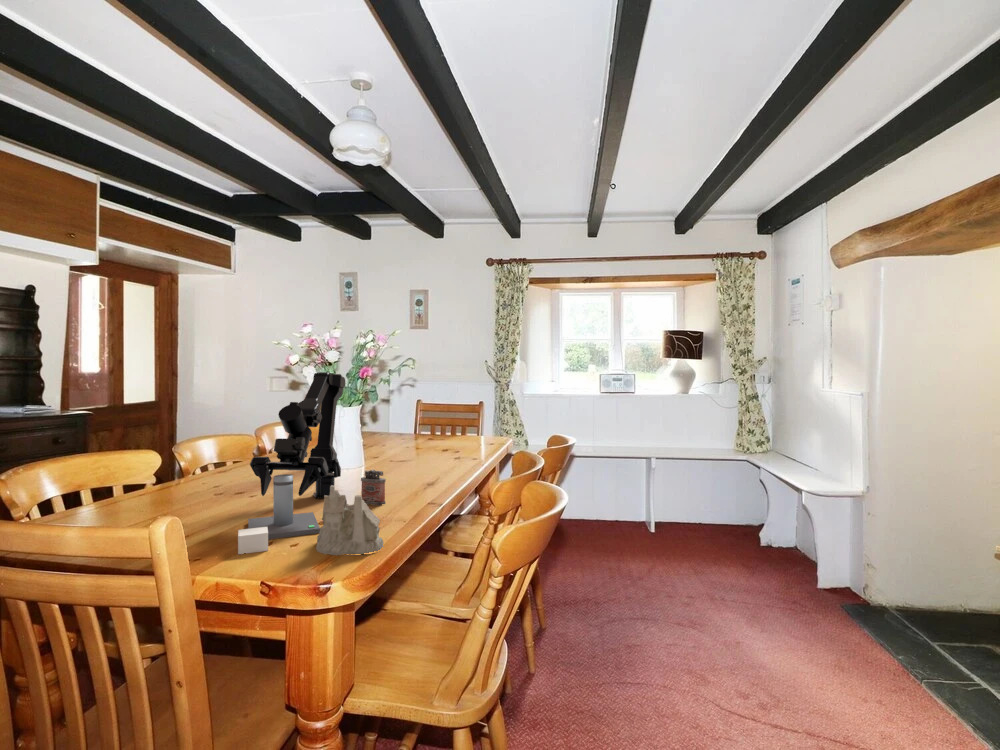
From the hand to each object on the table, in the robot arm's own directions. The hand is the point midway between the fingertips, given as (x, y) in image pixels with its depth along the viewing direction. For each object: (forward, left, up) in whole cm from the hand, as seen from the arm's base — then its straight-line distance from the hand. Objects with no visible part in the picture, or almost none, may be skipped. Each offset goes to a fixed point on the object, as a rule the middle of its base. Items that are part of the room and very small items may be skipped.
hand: (281, 495), depth 134 cm
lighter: (-17, +27, -9) cm, 33 cm away
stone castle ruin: (+18, +14, -9) cm, 25 cm away
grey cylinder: (-1, +1, -8) cm, 8 cm away
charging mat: (+3, 0, -9) cm, 9 cm away
